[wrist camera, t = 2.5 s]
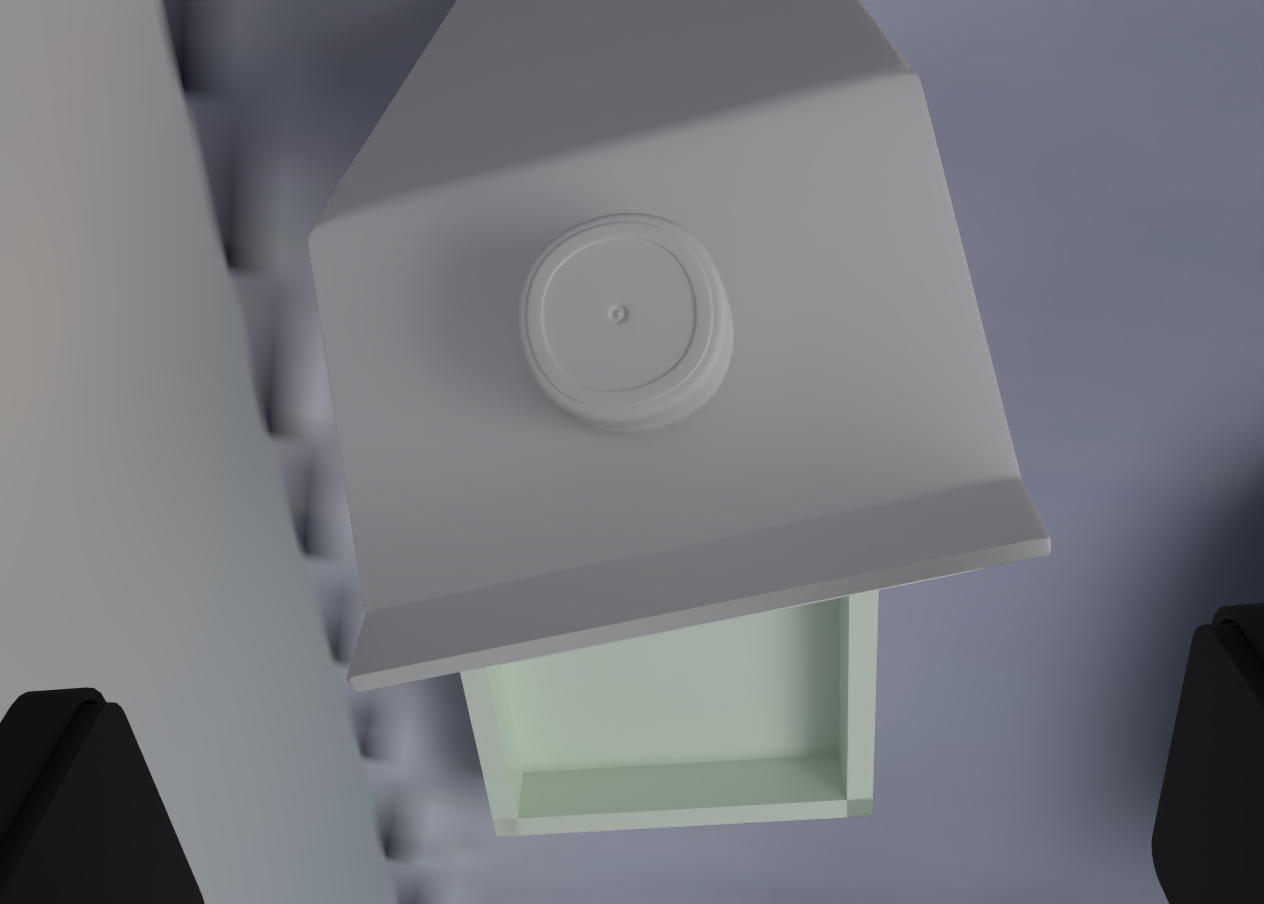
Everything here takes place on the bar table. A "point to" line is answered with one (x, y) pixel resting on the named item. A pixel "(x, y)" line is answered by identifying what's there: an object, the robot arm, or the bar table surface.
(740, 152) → the milk carton
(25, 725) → the robot arm
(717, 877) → the bar table surface
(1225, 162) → the bar table surface
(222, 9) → the bar table surface
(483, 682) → the tray
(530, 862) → the bar table surface
